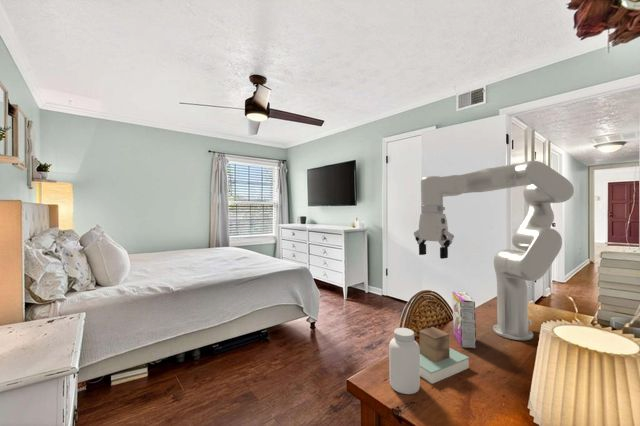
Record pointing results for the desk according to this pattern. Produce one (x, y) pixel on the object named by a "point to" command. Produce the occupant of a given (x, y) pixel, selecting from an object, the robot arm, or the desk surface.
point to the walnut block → (434, 344)
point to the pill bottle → (404, 362)
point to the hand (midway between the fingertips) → (432, 256)
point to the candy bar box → (464, 319)
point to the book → (443, 366)
